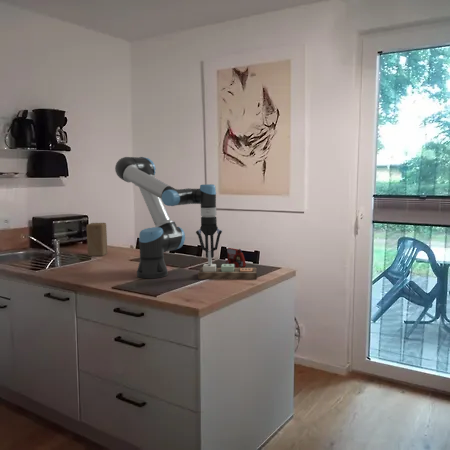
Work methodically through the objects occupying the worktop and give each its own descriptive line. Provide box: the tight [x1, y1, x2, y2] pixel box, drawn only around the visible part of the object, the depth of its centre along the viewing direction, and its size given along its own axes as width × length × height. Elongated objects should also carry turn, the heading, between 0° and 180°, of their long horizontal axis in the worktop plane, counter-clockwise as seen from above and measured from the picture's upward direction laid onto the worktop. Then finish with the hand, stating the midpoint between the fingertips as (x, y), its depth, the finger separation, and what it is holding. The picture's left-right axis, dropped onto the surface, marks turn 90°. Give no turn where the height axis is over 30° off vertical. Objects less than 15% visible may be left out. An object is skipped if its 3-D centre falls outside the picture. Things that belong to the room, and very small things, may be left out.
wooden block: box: [86, 222, 108, 257], centre depth 282 cm, size 10×10×20 cm
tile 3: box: [239, 267, 254, 272], centre depth 219 cm, size 6×6×3 cm
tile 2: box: [220, 263, 234, 272], centre depth 220 cm, size 6×6×3 cm
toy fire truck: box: [224, 247, 247, 268], centre depth 239 cm, size 7×12×10 cm, turn 42°
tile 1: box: [202, 263, 217, 272], centre depth 220 cm, size 6×6×3 cm
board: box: [197, 267, 258, 280], centre depth 220 cm, size 28×12×3 cm, turn 86°
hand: (210, 264), depth 220 cm, fingers closed
